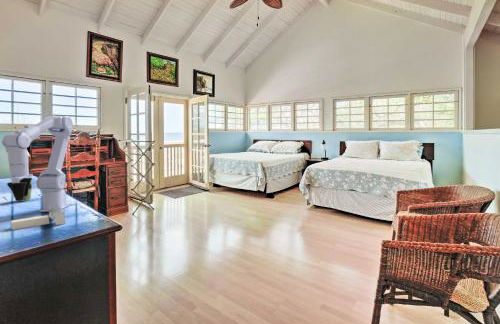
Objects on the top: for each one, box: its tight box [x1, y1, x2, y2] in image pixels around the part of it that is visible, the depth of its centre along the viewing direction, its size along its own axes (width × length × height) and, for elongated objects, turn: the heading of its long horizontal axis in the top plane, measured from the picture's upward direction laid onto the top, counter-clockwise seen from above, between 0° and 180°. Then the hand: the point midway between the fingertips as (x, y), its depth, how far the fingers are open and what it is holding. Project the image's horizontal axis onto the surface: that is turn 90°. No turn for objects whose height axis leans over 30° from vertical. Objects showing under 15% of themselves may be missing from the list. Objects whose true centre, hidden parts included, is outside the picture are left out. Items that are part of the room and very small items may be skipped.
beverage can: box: [18, 179, 33, 202], centre depth 140 cm, size 6×7×12 cm
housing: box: [48, 205, 66, 226], centre depth 109 cm, size 14×3×5 cm, turn 45°
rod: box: [10, 214, 50, 231], centre depth 103 cm, size 11×3×3 cm, turn 129°
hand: (21, 198), depth 107 cm, fingers open, 7 cm apart
